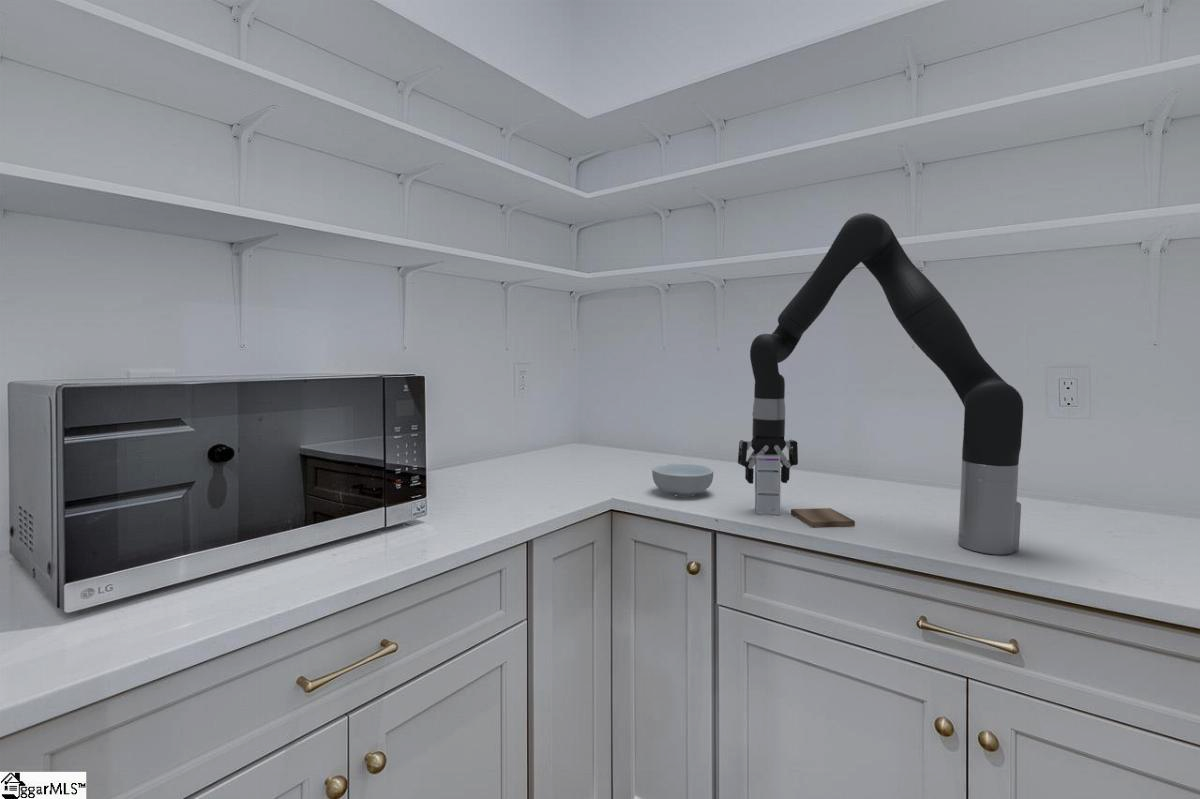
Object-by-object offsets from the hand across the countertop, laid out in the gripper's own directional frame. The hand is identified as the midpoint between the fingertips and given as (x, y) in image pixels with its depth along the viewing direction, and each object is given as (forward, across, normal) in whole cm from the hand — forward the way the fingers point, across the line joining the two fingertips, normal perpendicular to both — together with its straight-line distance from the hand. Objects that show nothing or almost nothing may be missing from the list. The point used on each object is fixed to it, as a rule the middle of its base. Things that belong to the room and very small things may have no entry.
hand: (767, 482), depth 140 cm
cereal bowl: (+8, -16, +21) cm, 27 cm away
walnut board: (+7, +10, -8) cm, 15 cm away
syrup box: (+8, 0, 0) cm, 8 cm away
